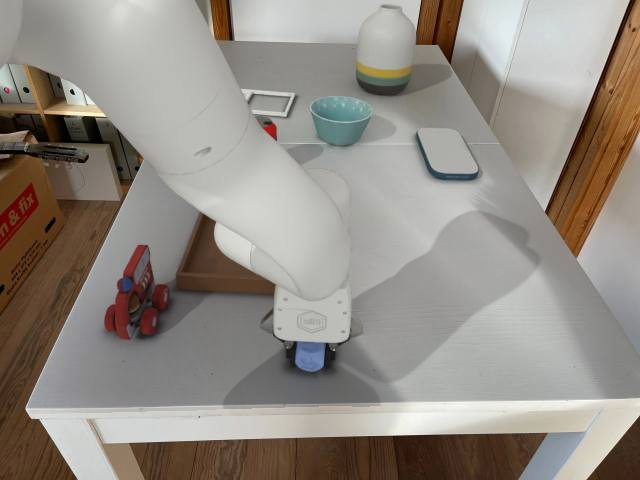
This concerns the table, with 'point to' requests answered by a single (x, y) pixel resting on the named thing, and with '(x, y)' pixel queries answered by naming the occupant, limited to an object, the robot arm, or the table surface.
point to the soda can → (268, 126)
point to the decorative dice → (310, 355)
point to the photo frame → (249, 93)
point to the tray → (215, 266)
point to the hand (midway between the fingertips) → (310, 359)
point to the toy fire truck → (136, 298)
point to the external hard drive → (446, 154)
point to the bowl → (340, 119)
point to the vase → (385, 51)
